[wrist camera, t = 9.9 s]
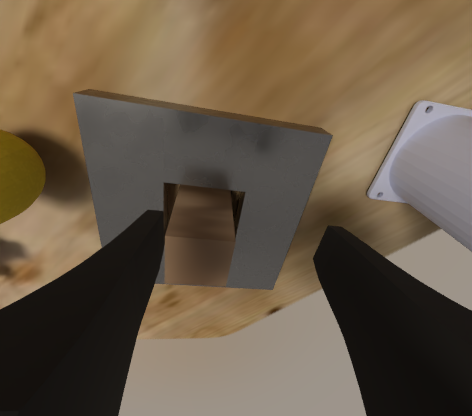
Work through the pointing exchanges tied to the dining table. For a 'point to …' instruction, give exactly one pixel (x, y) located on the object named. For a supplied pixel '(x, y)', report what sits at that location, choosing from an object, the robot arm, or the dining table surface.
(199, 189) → the brown rectangular block
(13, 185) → the lemon
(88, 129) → the grey plate with hole
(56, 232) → the dining table surface
